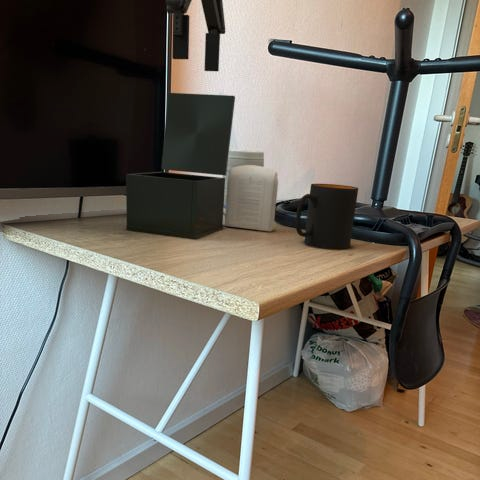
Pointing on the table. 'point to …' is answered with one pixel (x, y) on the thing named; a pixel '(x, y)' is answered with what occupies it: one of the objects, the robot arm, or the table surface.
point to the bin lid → (198, 133)
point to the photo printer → (251, 197)
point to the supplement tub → (241, 163)
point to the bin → (174, 204)
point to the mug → (328, 216)
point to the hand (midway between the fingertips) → (197, 65)
